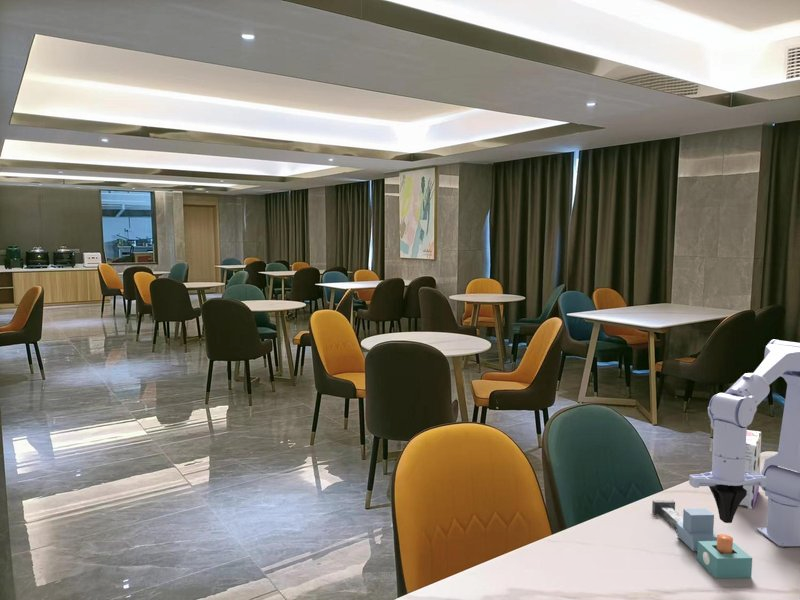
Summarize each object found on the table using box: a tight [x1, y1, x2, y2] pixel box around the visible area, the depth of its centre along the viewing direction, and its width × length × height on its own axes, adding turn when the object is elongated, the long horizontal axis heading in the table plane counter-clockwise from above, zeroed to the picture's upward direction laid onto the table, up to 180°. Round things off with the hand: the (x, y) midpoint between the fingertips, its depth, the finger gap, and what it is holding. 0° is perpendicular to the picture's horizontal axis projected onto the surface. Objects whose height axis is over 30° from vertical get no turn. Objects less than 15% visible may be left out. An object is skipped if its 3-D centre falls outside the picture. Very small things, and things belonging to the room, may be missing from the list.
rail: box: [651, 499, 683, 531], centre depth 136 cm, size 5×21×3 cm, turn 2°
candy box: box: [738, 429, 762, 510], centre depth 155 cm, size 14×6×16 cm, turn 144°
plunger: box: [716, 533, 734, 554], centre depth 121 cm, size 3×3×4 cm
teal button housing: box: [696, 541, 753, 579], centre depth 121 cm, size 7×7×4 cm
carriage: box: [676, 508, 718, 552], centre depth 131 cm, size 6×7×7 cm
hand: (725, 520), depth 120 cm, fingers closed
